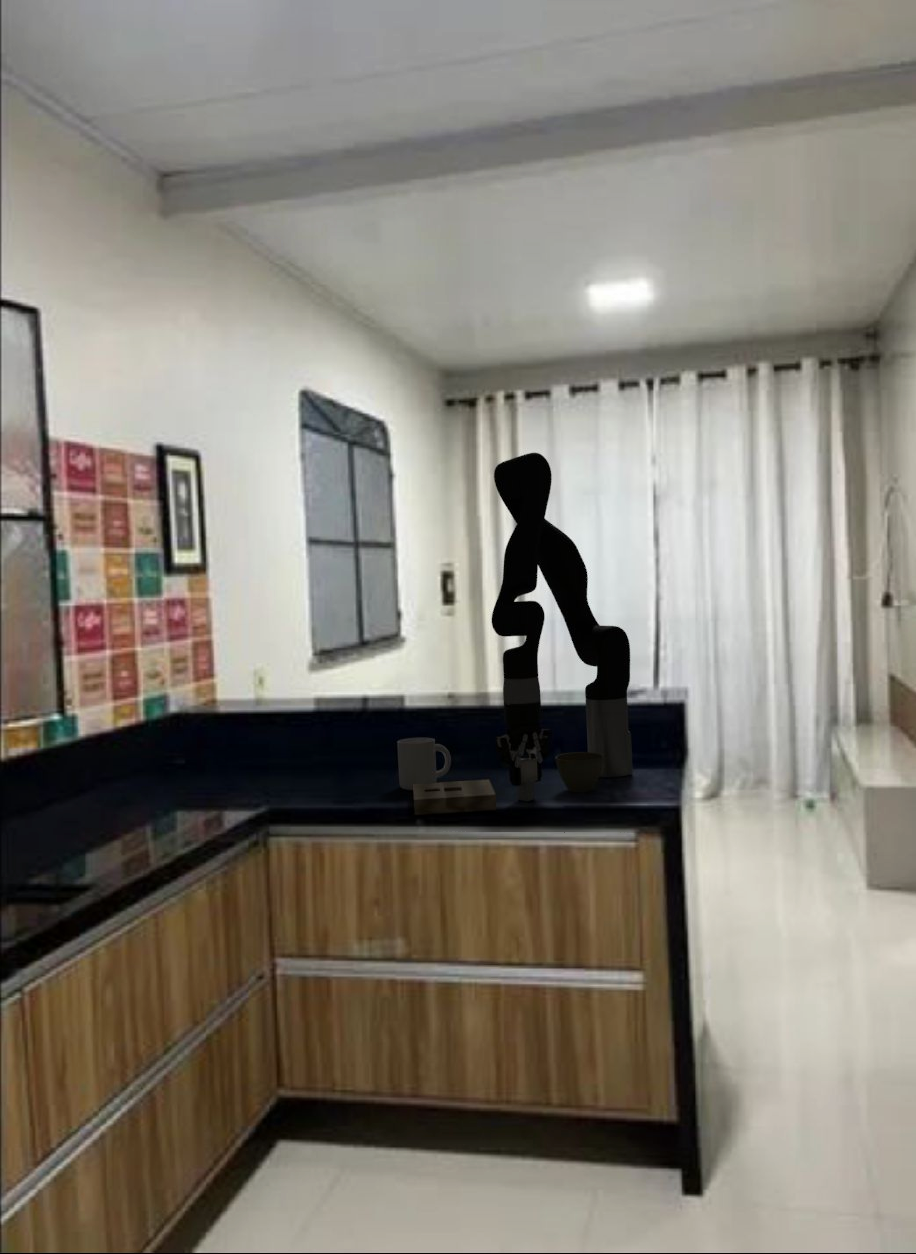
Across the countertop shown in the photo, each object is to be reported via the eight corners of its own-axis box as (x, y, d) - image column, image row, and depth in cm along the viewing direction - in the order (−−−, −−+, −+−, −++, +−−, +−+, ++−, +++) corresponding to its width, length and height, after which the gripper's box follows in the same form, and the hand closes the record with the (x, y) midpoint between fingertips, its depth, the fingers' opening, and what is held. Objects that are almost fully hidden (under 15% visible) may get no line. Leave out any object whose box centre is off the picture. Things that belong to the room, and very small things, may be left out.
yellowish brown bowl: (549, 793, 227) (547, 759, 227) (567, 784, 236) (566, 751, 236) (594, 796, 223) (593, 761, 222) (611, 786, 231) (610, 752, 231)
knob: (527, 796, 226) (526, 756, 226) (543, 799, 222) (541, 758, 222) (510, 799, 223) (508, 759, 223) (525, 803, 219) (524, 762, 219)
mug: (446, 779, 248) (444, 734, 248) (458, 786, 241) (455, 739, 240) (395, 785, 245) (392, 739, 244) (405, 792, 237) (402, 744, 236)
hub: (489, 793, 230) (488, 778, 230) (496, 809, 214) (495, 793, 214) (413, 798, 230) (412, 782, 229) (414, 815, 214) (413, 798, 213)
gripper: (535, 695, 229) (539, 775, 230) (482, 702, 220) (487, 786, 221) (560, 697, 223) (564, 780, 224) (507, 705, 214) (511, 791, 215)
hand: (526, 782), depth 223 cm, fingers closed on knob, 4 cm apart
